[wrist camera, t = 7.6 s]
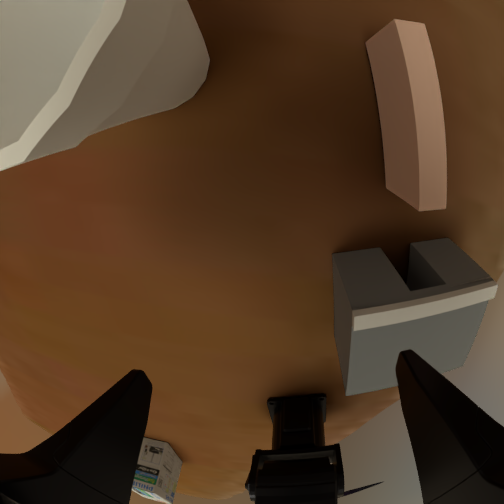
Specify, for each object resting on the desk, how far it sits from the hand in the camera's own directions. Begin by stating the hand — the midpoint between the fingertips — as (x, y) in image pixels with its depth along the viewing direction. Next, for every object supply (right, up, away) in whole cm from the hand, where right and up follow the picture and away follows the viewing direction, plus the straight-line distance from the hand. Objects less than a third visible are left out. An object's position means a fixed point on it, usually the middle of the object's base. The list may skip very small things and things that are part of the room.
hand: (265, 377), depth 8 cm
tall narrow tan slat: (+8, +13, +6) cm, 17 cm away
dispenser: (+11, +1, +12) cm, 16 cm away
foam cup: (-6, +16, +6) cm, 19 cm away
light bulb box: (-17, -33, +31) cm, 48 cm away
